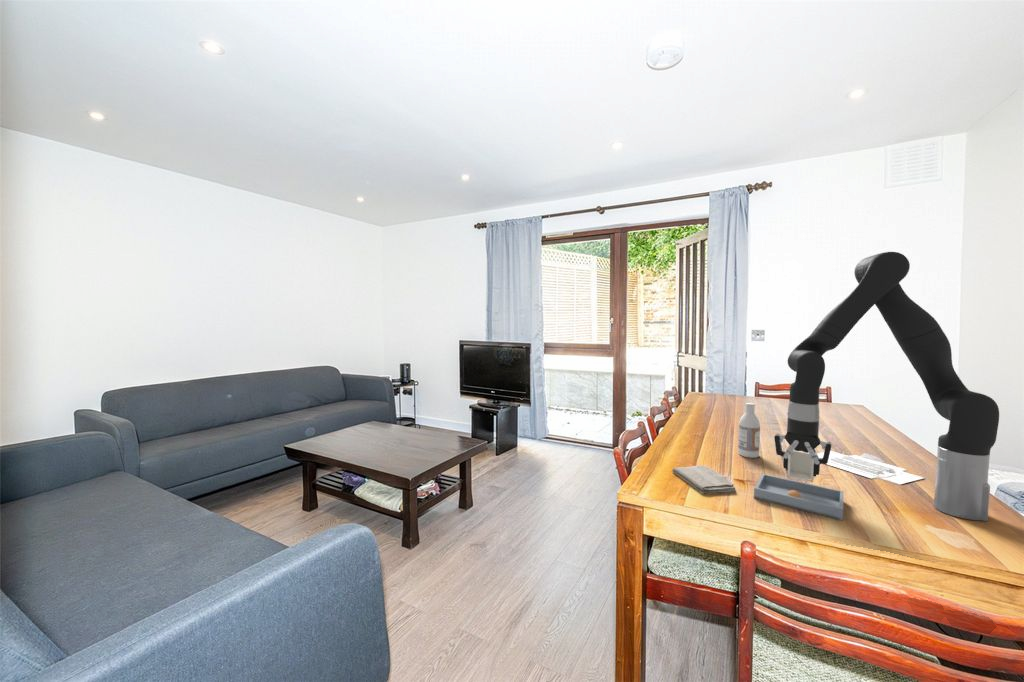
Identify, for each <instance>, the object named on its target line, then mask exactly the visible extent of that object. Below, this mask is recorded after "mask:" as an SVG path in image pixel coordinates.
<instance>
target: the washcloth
mask: <svg viewBox="0 0 1024 682" xmlns="http://www.w3.org/2000/svg"><path fill="white" fill-rule="evenodd" d="M671 472H672V473H673V474H674V475H676V476H677V477H679V478H680V479H681V480H683V481H684V482H685V483H687V484H689V485H690V487H693V488H694V489H695V490H696V491H697V492H699V493H700V494H702V495H704V494H707V495H708V494H709V495H717V494H730V493H731V494H732V493H735V492H737V489H736V487H735V486H734V485H735V483H734V482H732V481H731V480H729V479H728V478H727V476H725V475H722V474H721V473H720V472H718V471H716V470H714V469H712V468H710V467H709V466H707V465H705V464H703V465H701V464H699V465H693V466H678V467H677V466H676V467H673V468H672V471H671Z"/></svg>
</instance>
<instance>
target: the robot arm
mask: <svg viewBox="0 0 1024 682" xmlns="http://www.w3.org/2000/svg"><path fill="white" fill-rule="evenodd" d="M910 265H911V263H910V261H909V259H908V257H906V256H905V255H904V254H903V253H901V252H897V251H885V252H880V253H877V254H873V255H870V256H867V257H864V258H862V259H861V260H859V262H857V264H856V265H855V267H854V277H855V279H856V281H857V283H858V285H857V286H856V287H855V288H854V289H853V291H851V293H850V294H848V296H846V297H845V298H844V299H843V300H842V301H841V302H840V303H838V304H837V305H836V306H835V307H833V309H832V310H830V311H829V312H828V313H827V314H826V315H825V316H824V317H823V318H822V320H821V321H820V322H819V323H818V325H817V326H816V327H815V328H814V330H813V331H812V332H811V334H810V335H808V336H807V337H806V338H805V339H804V340H802V341H801V342H800V343H799V344H798V345H796V347H794V349H793V350H792V351H791V352H790V353H789V355H788V357H787V365H788V367H789V369H791V370H792V371H793V372H795V373H796V374H795V379H794V382H791V384H790V386H789V399H788V400H789V402H788V405H787V406H788V407H787V413H786V415H787V423H786V424H787V426H786V428H787V429H786V433H785V434H779V433H776V434H775V435H774V437H773V438H774V446H775V453H776V455H777V456H780V457H782V458H783V463H782V465H783V466H782V467H783V469H785V471H787V472H788V455H789V454H791V453H792V452H793V451H798V452H803V453H809V454H810V456H811V457H812V458H814V471H813V476H814V477H817V476H819V474H820V466H821V464H822V465H823V464H824V465H827V463H828V459H829V455H830V451H832V445H833V444H832V442H831V441H827V442H826V441H823V440H821V439H820V437H819V430H820V429H819V427H820V388H821V385H822V383H823V379H824V376H825V372H826V371H825V370H826V362H825V359H824V357H823V355H825V353H827V352H829V351H833V350H835V349H836V348H837V347H838V346H839V345H840V344H841V342H843V340H844V339H846V336H847V335H848V334H849V333H850V332H851V330H852V329H853V328H854V327H855V326H856V325H857V324H858V322H860V320H861V319H862V318H863V316H865V315H866V314H867V312H868V311H870V310H871V308H872V307H874V306H875V307H876V308H877V310H878V311H879V313H880V315H881V317H882V318H883V320H884V321H885V323H886V326H888V327H889V330H890V331H891V334H892V335H893V337H894V338H895V341H896V342H897V344H898V345H899V347H900V349H901V350H902V352H903V353H904V355H905V356H906V358H907V359H908V361H909V362H910V364H911V365H912V367H913V369H914V370H915V373H917V375H918V376H919V378H920V379H921V381H922V383H923V386H924V387H925V389H926V392H927V394H928V396H929V399H930V401H931V404H932V405H933V407H934V409H935V411H936V412H937V413H938V414H939V415H940V416H941V417H942V418H943V419H945V420H947V421H949V425H948V431H947V433H946V434H941V435H940V436H938V439H937V440H938V441H937V455H936V465H935V466H936V467H935V470H936V471H935V485H934V497H933V506H934V508H935V509H936V510H938V511H940V512H943V513H945V514H947V515H949V516H952V517H953V516H954V517H956V518H962V519H966V520H973V521H984V522H988V520H989V519H988V517H989V509H990V508H989V506H990V505H989V504H990V492H991V485H990V484H989V482H988V480H989V469H990V455H991V449H992V448H993V447H994V445H995V443H996V440H997V437H998V436H997V435H998V429H999V422H1000V409H999V406H998V404H997V402H996V401H995V400H994V399H993V398H992V397H990V396H989V395H985V394H984V393H980V392H976V391H972V390H969V388H967V386H966V385H965V384H964V382H963V381H962V380H961V379H960V377H959V376H958V374H957V372H956V371H955V369H954V366H953V358H952V357H953V356H952V347H951V343H950V340H949V338H948V337H947V335H946V333H945V332H944V330H943V329H942V327H941V325H940V324H939V323H938V321H937V320H936V319H935V318H934V316H932V314H930V313H929V312H928V311H927V310H925V309H924V308H923V307H922V306H920V305H919V304H918V303H916V302H915V301H914V300H913V299H912V298H910V296H909V295H908V294H907V293H906V292H905V291H904V289H903V287H902V286H901V284H900V283H901V282H902V280H903V279H905V278H906V277H907V276H908V273H909V272H910V268H911V267H910ZM784 440H785V441H786V442H787V443H788V445H789V446H788V447H787V449H786V450H785V451H783V448H782V443H783V442H784ZM819 446H821V449H822V450H824V451H823V452H824V455H823V458H819V457H818V455H817V451H816V449H817V447H819Z"/></svg>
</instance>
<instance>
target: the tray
mask: <svg viewBox="0 0 1024 682" xmlns="http://www.w3.org/2000/svg"><path fill="white" fill-rule="evenodd" d="M791 490H796V491H798V492H799V493H800V494H801V498H798V497H794V496H789V495H788V492H789V491H791ZM844 496H845V495H844V490H840V489H839V490H838V489H835V488H830V487H826V486H821V485H816V484H812V483H806V482H802V481H799V480H798V481H797V480H793V479H789V478H784V477H780V476H776V475H771V474H767V473H766V474H765V473H761V474H760V477H759V478H758V480H757V482H756V484H755V486H754V488H753V499H757V500H760V501H765V502H767V503H771V504H775V505H778V506H779V505H780V506H784V507H787V508H791V509H795V510H800V511H803V512H807V513H811V514H815V515H818V516H823V517H827V518H831V519H834V520H839V521H841V522H842V521H844Z"/></svg>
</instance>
